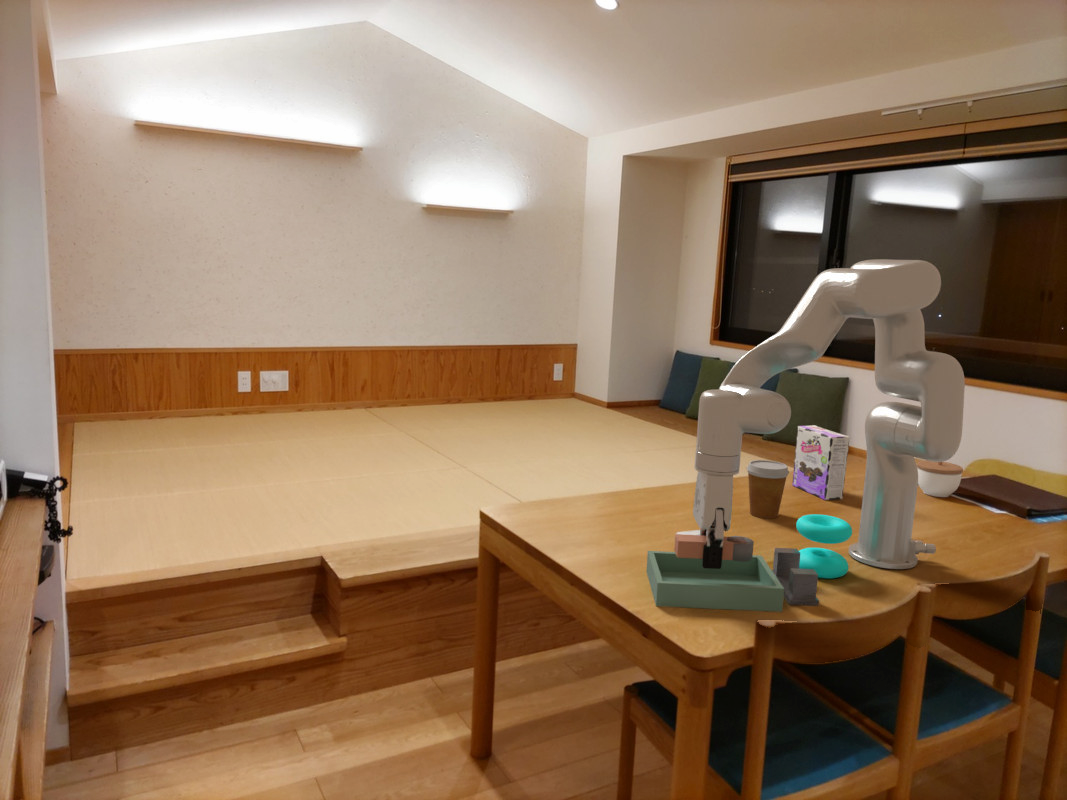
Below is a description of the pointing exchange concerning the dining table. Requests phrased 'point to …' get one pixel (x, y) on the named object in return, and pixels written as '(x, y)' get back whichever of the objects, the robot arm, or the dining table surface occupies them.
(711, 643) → the dining table surface
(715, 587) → the tray
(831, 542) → the donuts
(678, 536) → the strut
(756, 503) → the disposable coffee cup
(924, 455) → the robot arm
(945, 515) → the dining table surface
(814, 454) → the candy box
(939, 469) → the lidded jar
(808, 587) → the bracket
